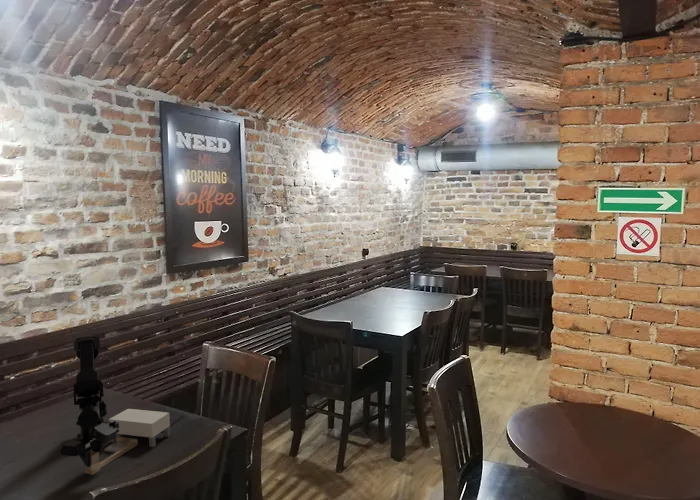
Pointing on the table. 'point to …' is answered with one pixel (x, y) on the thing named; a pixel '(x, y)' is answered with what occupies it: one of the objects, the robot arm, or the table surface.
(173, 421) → the bracket
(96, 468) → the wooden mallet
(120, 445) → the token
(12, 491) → the table surface
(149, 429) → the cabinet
